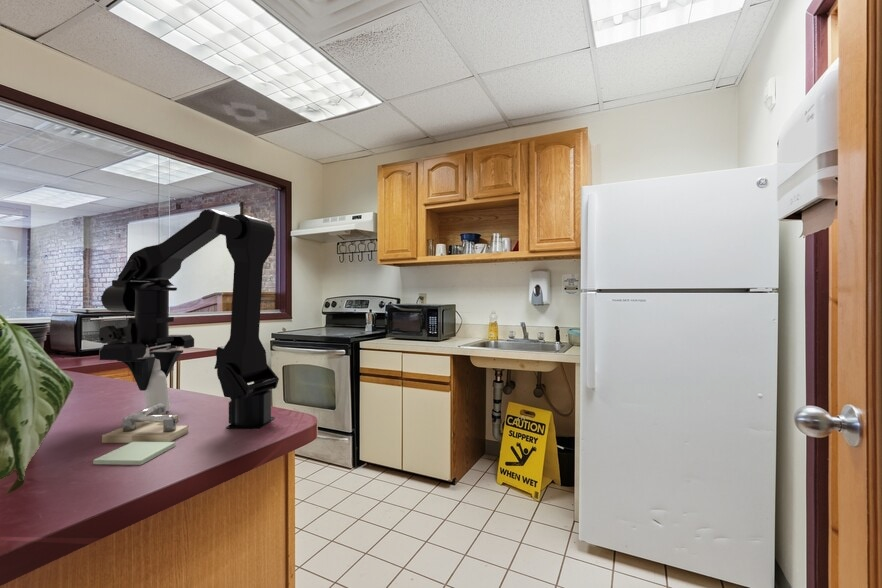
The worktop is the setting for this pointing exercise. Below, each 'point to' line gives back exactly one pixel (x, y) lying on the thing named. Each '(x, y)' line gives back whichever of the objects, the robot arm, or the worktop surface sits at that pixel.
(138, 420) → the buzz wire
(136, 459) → the pad
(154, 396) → the eye dropper bottle
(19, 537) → the worktop surface
